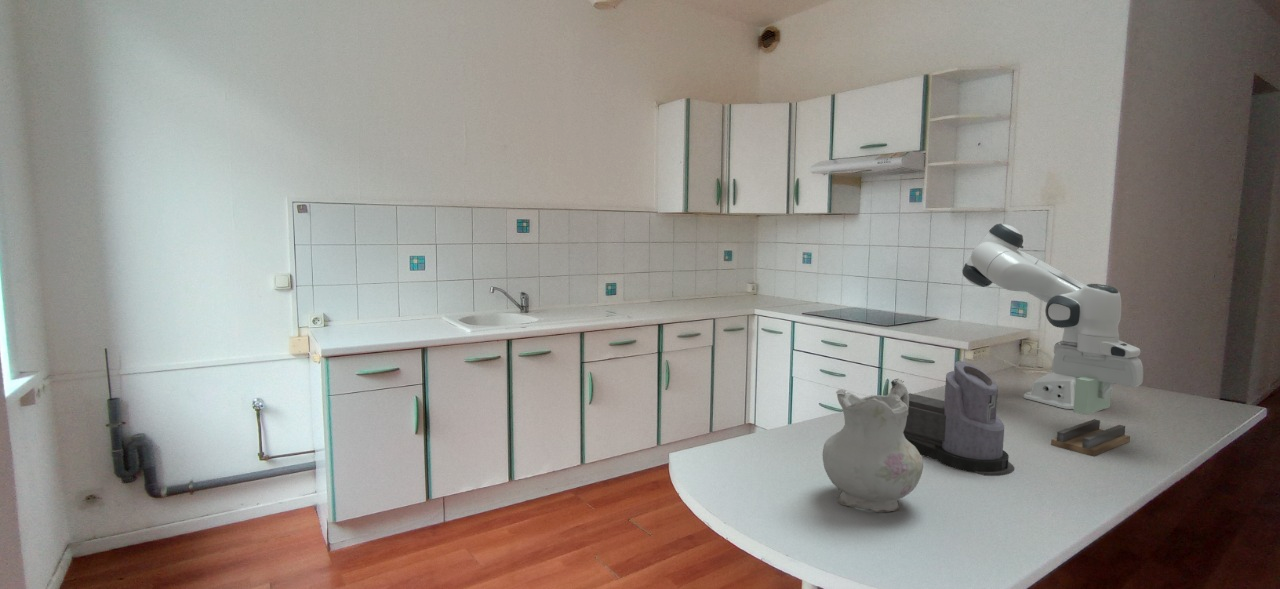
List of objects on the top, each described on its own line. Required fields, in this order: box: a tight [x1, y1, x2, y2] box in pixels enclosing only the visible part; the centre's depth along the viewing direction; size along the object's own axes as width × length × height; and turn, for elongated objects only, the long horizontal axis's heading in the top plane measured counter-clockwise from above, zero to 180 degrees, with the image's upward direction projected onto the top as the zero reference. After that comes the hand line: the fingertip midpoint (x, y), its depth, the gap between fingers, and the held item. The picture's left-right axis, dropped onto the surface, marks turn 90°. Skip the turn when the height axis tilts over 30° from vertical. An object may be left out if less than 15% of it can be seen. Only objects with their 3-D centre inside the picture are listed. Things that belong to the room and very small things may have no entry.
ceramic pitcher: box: [822, 378, 924, 513], centre depth 131 cm, size 22×20×25 cm
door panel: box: [1072, 376, 1112, 415], centre depth 168 cm, size 3×14×9 cm, turn 122°
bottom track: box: [1050, 418, 1131, 457], centre depth 169 cm, size 10×22×4 cm, turn 123°
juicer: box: [903, 360, 1015, 477], centre depth 158 cm, size 30×16×24 cm, turn 37°
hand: (1093, 396), depth 168 cm, fingers closed on door panel, 3 cm apart
